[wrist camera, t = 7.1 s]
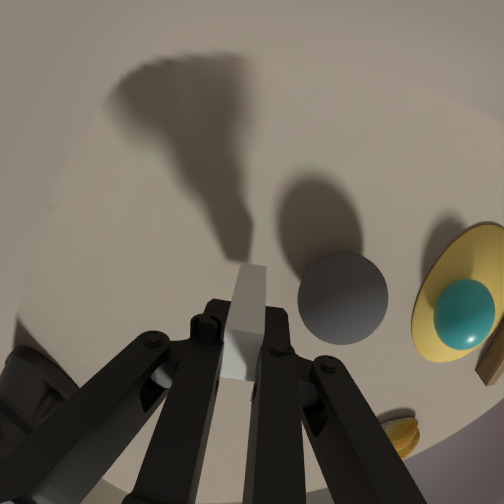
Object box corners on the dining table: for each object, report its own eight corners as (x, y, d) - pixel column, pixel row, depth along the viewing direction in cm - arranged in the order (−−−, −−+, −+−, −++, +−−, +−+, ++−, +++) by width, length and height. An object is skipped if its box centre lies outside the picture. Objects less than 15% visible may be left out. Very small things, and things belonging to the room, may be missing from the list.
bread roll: (410, 405, 23) (421, 430, 20) (418, 432, 26) (426, 453, 22) (346, 435, 25) (351, 461, 21) (364, 456, 28) (369, 478, 24)
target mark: (387, 363, 21) (387, 364, 20) (445, 207, 16) (447, 207, 16) (481, 357, 21) (481, 358, 20) (530, 240, 16) (532, 241, 15)
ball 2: (457, 373, 13) (483, 352, 15) (495, 304, 11) (512, 294, 13) (410, 332, 18) (442, 320, 20) (437, 268, 16) (465, 265, 18)
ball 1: (377, 369, 13) (369, 321, 18) (408, 280, 11) (389, 250, 17) (283, 354, 15) (297, 309, 20) (299, 261, 13) (309, 236, 18)
